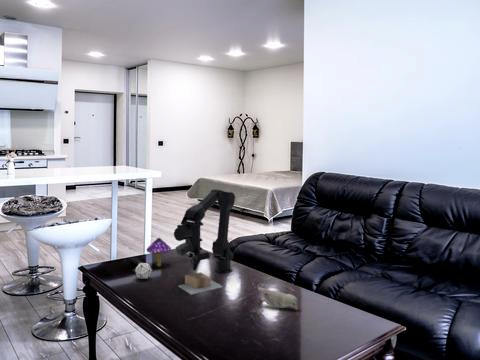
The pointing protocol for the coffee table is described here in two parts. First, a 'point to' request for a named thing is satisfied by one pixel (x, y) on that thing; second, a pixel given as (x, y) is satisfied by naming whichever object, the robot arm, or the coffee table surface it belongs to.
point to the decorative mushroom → (158, 249)
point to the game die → (143, 270)
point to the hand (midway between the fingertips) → (194, 270)
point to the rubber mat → (199, 290)
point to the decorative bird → (278, 299)
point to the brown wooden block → (197, 280)
